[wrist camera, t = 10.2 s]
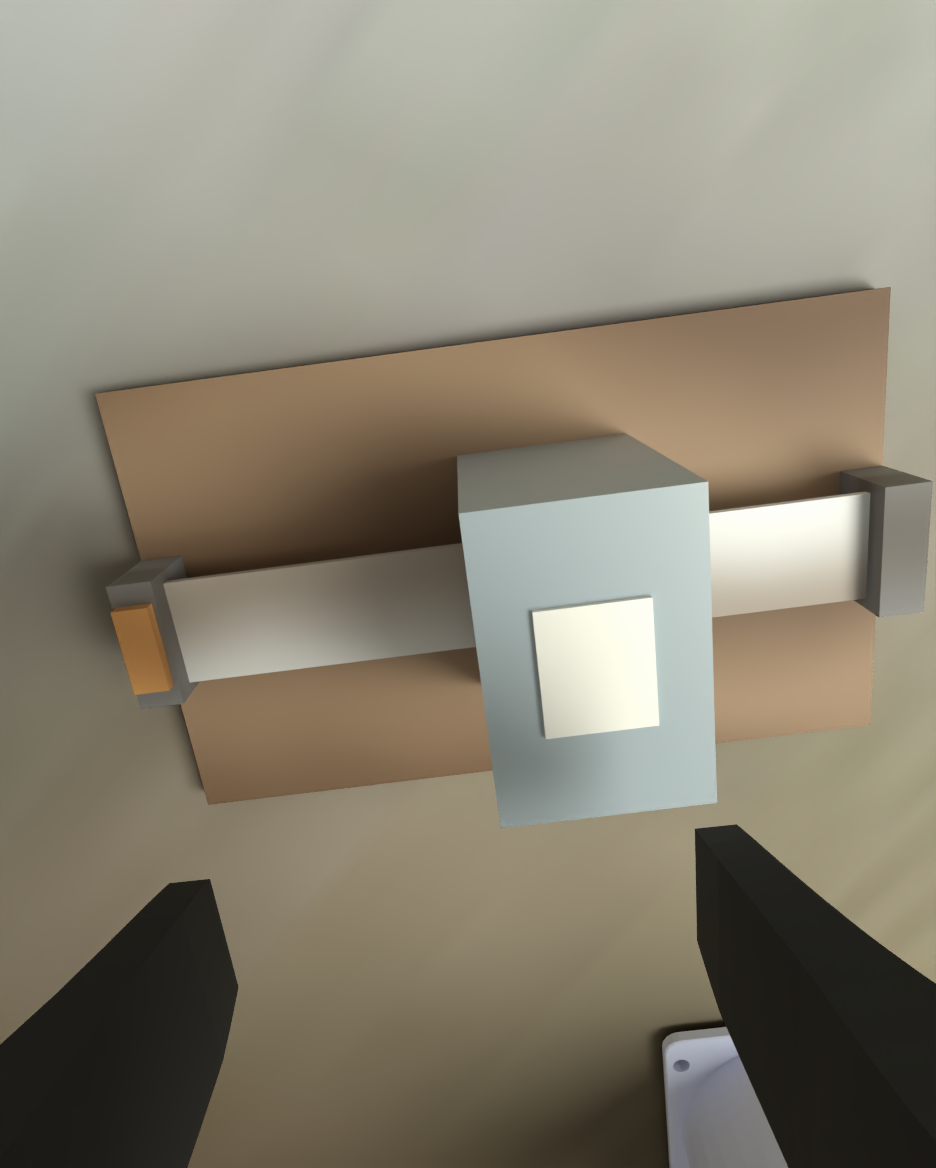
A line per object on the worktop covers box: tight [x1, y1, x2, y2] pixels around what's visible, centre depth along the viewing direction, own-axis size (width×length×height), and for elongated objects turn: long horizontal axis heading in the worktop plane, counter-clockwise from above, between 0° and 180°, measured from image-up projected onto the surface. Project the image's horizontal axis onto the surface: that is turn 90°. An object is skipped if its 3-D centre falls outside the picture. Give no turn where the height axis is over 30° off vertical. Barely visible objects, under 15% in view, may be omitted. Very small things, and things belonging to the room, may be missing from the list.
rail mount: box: [95, 287, 933, 805], centre depth 18 cm, size 11×18×3 cm, turn 97°
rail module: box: [457, 434, 717, 828], centre depth 16 cm, size 6×4×6 cm, turn 7°
